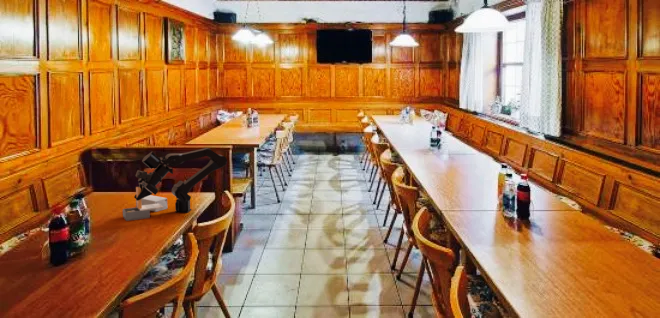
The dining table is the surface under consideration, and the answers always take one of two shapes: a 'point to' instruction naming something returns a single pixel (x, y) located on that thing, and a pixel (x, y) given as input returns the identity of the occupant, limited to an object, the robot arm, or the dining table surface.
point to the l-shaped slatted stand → (145, 207)
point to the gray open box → (135, 214)
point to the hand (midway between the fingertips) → (135, 199)
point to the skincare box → (154, 202)
